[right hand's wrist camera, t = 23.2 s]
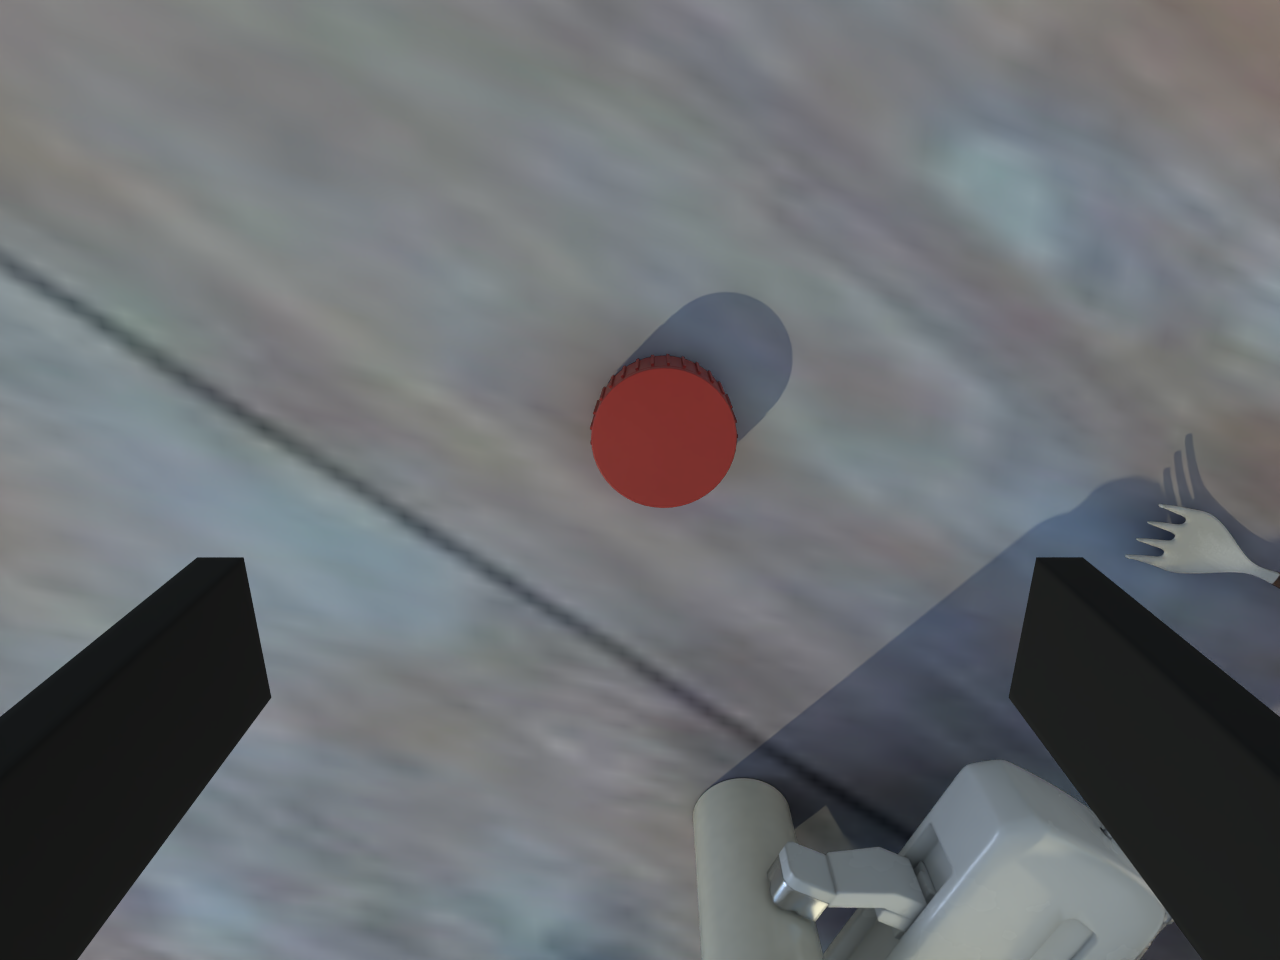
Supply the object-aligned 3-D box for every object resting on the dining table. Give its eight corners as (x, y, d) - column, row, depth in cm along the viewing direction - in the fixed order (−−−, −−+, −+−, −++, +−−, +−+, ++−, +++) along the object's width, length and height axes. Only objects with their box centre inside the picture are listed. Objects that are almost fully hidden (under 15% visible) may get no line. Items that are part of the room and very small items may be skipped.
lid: (614, 336, 28) (610, 346, 25) (750, 375, 28) (759, 389, 26) (579, 467, 29) (573, 488, 27) (708, 502, 30) (713, 526, 27)
